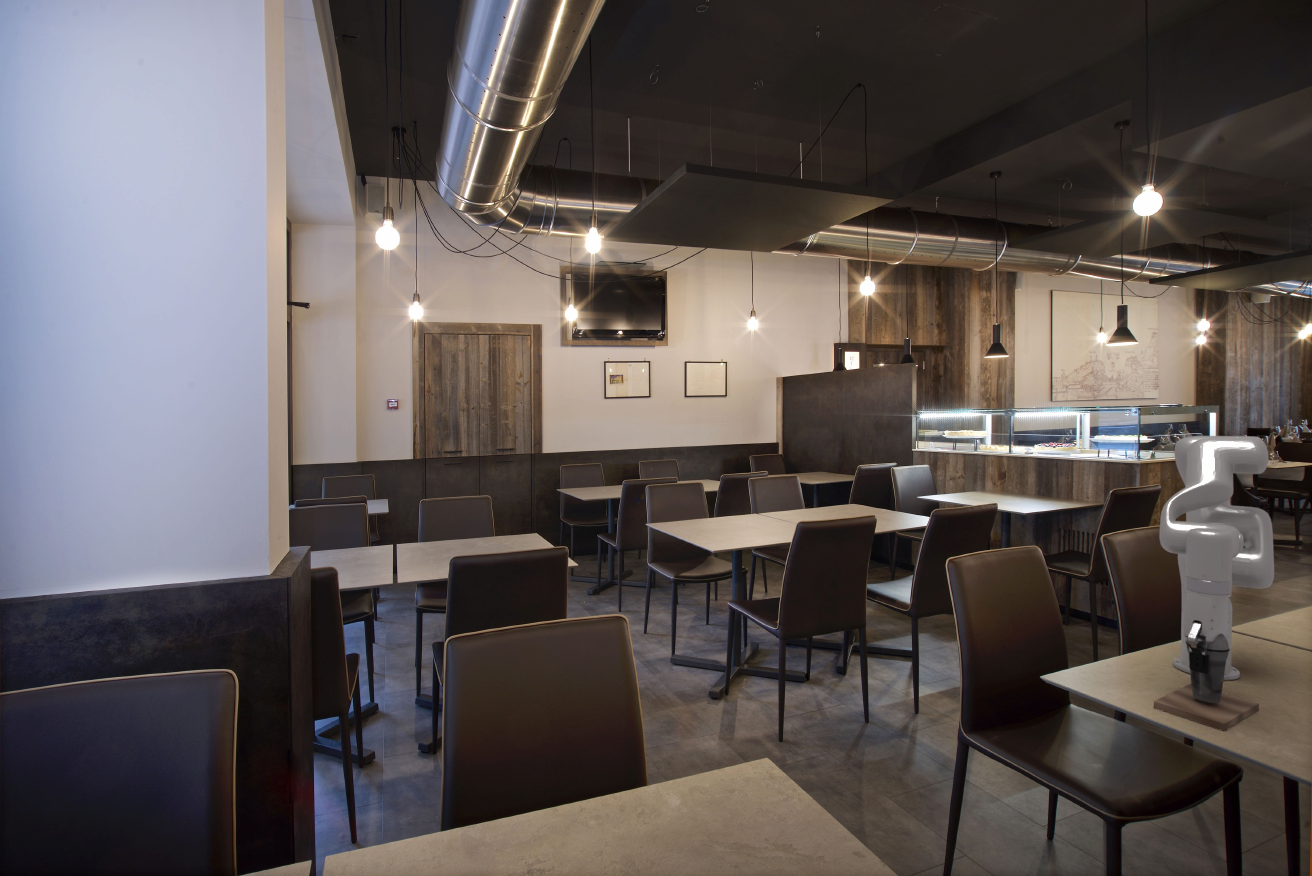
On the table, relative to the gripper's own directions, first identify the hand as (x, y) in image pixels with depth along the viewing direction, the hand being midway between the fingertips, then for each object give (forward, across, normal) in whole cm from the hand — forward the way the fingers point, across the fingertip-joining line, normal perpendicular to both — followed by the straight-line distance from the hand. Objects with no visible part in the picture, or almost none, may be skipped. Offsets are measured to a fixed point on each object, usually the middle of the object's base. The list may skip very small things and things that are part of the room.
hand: (1206, 667), depth 137 cm
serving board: (+9, 0, 0) cm, 9 cm away
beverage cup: (+7, 0, 0) cm, 7 cm away
